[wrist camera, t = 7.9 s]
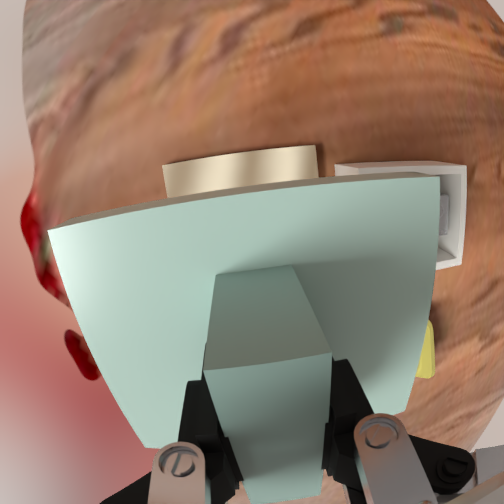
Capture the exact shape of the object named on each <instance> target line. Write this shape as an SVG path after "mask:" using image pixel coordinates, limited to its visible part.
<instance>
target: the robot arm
mask: <svg viewBox="0 0 504 504" xmlns="http://www.w3.org/2000/svg"><path fill="white" fill-rule="evenodd" d="M205 350H206V344H205ZM205 350H204V358H205ZM204 358H203V366H202V375H201V380H192V381H188V382H187V385H186V390H185V396H184V402H183V409H182V415H181V421H180V428H179V434H178V441H177V442H174V443H170V444H168V445H165V446H164V447H163V448H161V449H160V450H159V451H158V452H157V454H156V455H155V457H154V461H153V467H152V471H151V472H149V473H148V474H146V475H145V476H143V477H142V478H140V479H138V480H137V481H135V482H134V483H132V484H130V485H129V486H127V487H125V488H124V489H122V490H121V491H119V492H117V493H115V494H114V495H112V496H110V497H108V498H107V499H105V500H104V501H102V502H101V503H100V504H228V500H229V499H230V498H232V497H233V496H234V495H235V489H239V481H244V479H243V476H242V474H241V471H240V468H239V466H238V463H237V460H236V457H235V455H234V452H233V449H232V446H231V443H230V440H229V437H225V436H224V433H223V430H222V427H221V424H220V421H219V419H218V416H217V413H216V410H215V407H214V404H213V401H212V398H211V394H210V391H209V388H208V385H207V382H206V379H205V375H204V372H203V367H204ZM323 469H326V471H327V475H328V476H332V475H333V479H334V480H335V481H337V482H339V483H341V484H343V489H344V494H345V498H346V502H347V504H504V445H501V446H495V447H489V448H482V449H476V450H475V451H474V452H472V453H469V452H468V451H466V450H464V449H461V448H457V447H453V446H449V445H445V444H441V443H437V442H433V441H429V440H426V439H422V438H419V437H415V436H412V435H409V434H408V433H407V431H406V429H405V427H404V425H403V424H402V422H401V421H400V420H399V419H398V418H396V417H395V416H392V415H390V414H385V413H377V414H375V413H374V411H373V409H372V407H371V405H370V403H369V401H368V399H367V397H366V395H365V393H364V391H363V388H362V386H361V384H360V382H359V380H358V378H357V376H356V374H355V372H354V370H353V368H352V366H351V364H350V362H349V361H348V359H342V360H337V361H335V360H334V358H333V356H332V368H331V389H330V406H329V419H328V423H325V432H324V444H323V455H322V465H321V470H323Z"/></svg>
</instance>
